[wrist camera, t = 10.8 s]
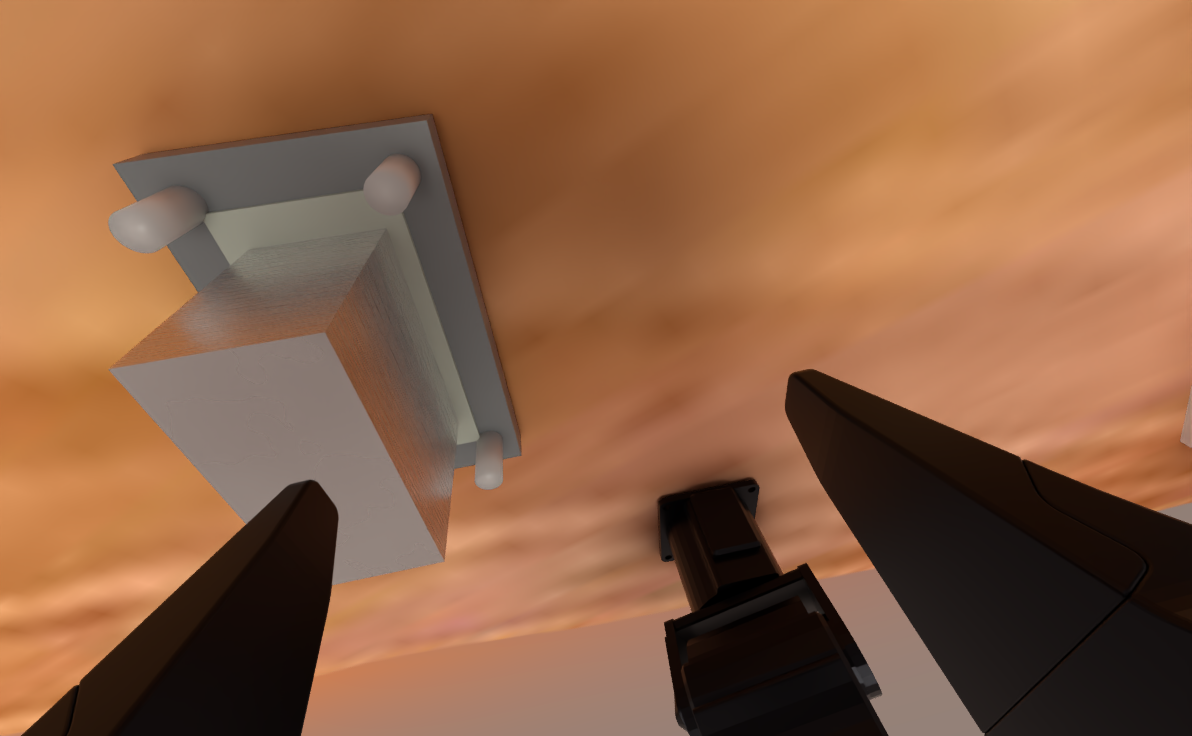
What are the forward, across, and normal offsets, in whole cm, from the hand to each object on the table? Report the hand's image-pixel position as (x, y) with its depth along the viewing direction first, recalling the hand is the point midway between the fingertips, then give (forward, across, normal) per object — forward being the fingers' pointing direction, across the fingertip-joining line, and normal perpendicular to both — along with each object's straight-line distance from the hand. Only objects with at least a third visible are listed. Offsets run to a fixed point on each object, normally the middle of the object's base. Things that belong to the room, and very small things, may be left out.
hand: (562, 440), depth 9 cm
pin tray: (+12, +7, +3) cm, 14 cm away
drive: (+10, +7, +3) cm, 13 cm away
